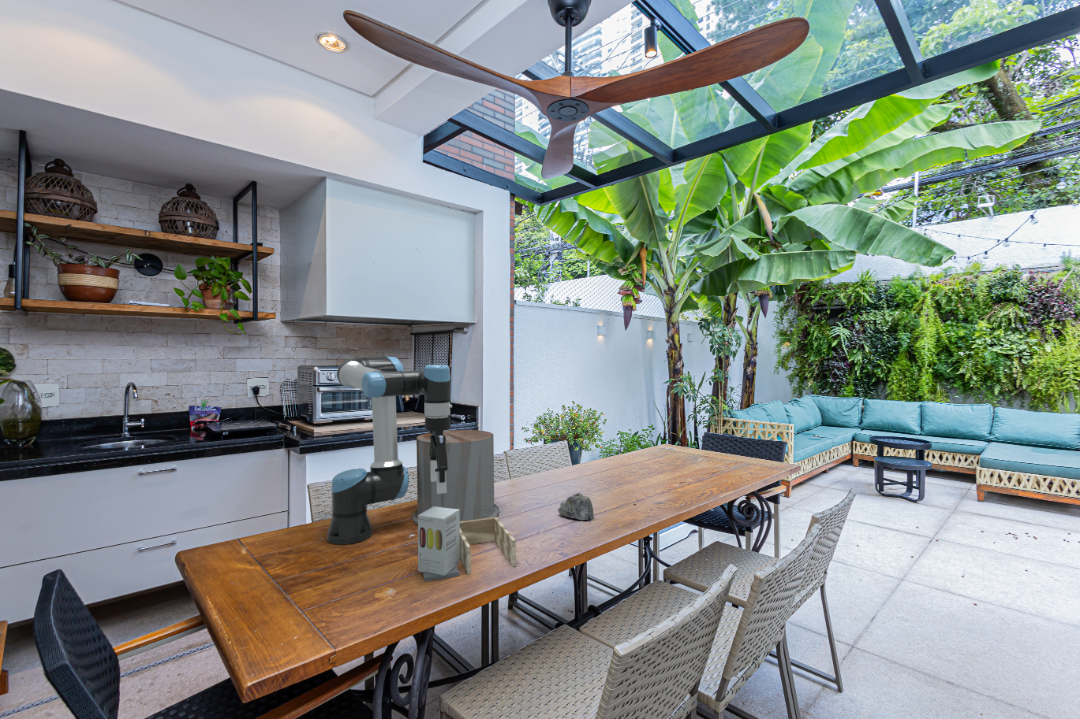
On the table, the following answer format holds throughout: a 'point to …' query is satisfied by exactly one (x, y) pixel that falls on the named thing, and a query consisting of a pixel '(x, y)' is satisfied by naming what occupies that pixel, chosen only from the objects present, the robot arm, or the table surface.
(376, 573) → the table surface
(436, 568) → the supplement box
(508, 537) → the shelf bay
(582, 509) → the mineral rock
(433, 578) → the plate
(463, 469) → the grey streaked cylinder
